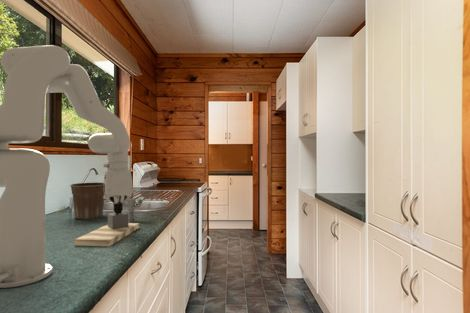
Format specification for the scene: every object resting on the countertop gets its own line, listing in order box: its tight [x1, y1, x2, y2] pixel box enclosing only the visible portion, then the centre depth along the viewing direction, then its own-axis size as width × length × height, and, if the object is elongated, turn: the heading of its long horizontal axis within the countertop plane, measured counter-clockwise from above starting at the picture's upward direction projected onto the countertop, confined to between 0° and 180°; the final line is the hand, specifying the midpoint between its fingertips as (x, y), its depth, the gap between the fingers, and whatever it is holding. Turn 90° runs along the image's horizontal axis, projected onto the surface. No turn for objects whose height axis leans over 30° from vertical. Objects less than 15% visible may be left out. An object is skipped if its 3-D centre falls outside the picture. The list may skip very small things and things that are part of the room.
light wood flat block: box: [74, 222, 140, 247], centre depth 108 cm, size 24×12×6 cm, turn 175°
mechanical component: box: [123, 197, 143, 222], centre depth 133 cm, size 3×10×10 cm, turn 78°
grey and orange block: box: [107, 211, 129, 229], centre depth 114 cm, size 6×6×5 cm
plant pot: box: [69, 182, 105, 221], centre depth 141 cm, size 16×16×16 cm
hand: (118, 212), depth 114 cm, fingers closed
